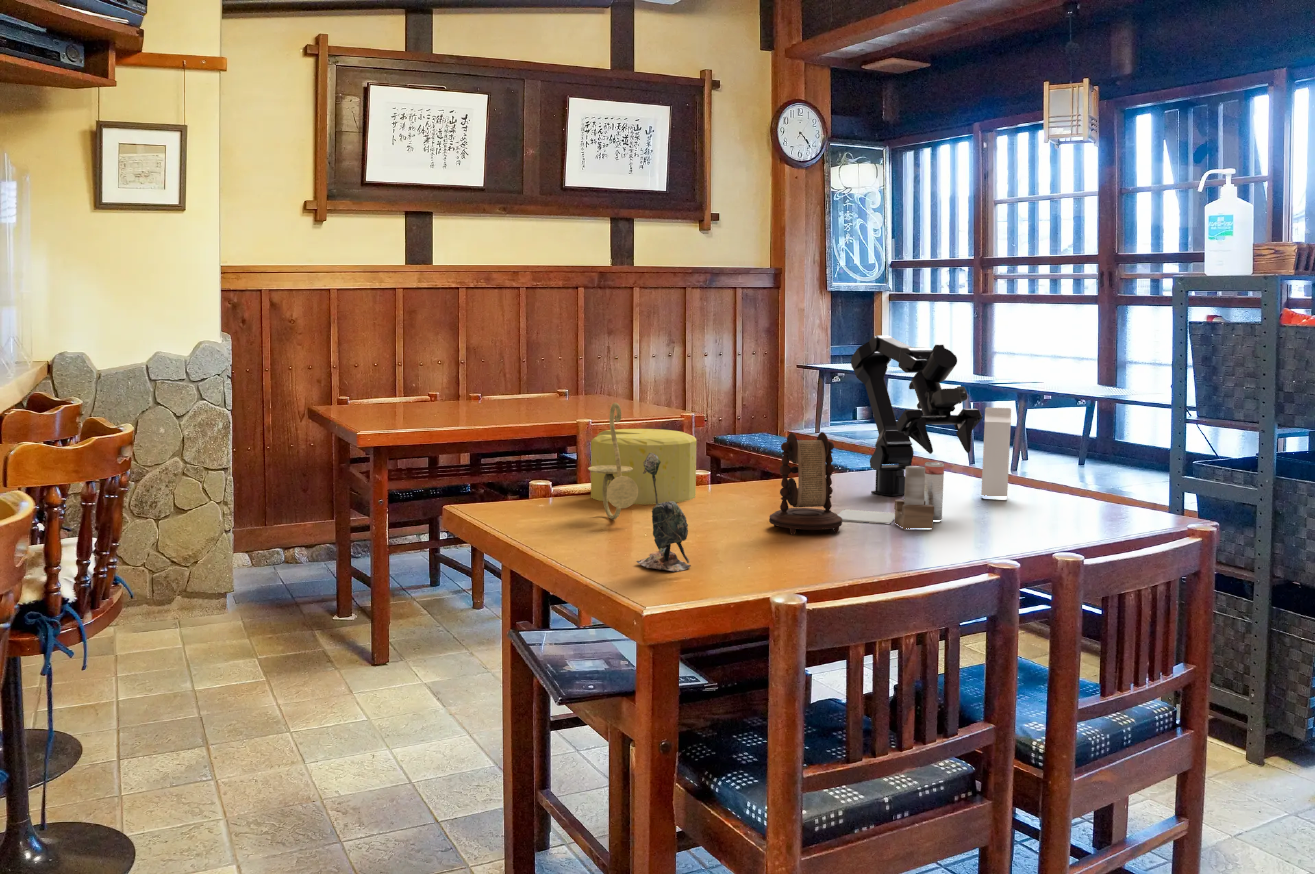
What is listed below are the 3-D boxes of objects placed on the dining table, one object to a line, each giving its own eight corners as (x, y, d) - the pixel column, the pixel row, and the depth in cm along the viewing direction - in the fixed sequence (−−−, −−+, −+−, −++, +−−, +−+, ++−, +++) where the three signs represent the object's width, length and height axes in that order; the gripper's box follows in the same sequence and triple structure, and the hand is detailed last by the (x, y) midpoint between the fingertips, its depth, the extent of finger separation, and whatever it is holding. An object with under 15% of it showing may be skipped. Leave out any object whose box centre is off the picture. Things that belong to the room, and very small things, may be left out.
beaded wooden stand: (785, 538, 216) (787, 437, 214) (758, 524, 230) (760, 429, 228) (854, 535, 220) (857, 435, 218) (823, 521, 234) (826, 428, 232)
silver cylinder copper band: (919, 519, 238) (922, 461, 236) (938, 519, 238) (940, 462, 237) (925, 522, 234) (927, 464, 232) (944, 522, 234) (946, 464, 233)
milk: (981, 495, 270) (984, 406, 268) (1007, 497, 268) (1011, 407, 266) (981, 499, 264) (984, 408, 262) (1007, 501, 263) (1011, 408, 260)
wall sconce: (644, 524, 228) (645, 404, 226) (600, 526, 225) (601, 405, 222) (624, 512, 241) (625, 399, 239) (582, 514, 238) (583, 399, 236)
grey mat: (844, 511, 247) (844, 509, 246) (898, 515, 242) (898, 513, 242) (833, 520, 235) (833, 518, 235) (890, 524, 231) (890, 522, 231)
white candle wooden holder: (893, 523, 233) (895, 464, 231) (921, 523, 233) (924, 464, 232) (904, 530, 225) (906, 470, 224) (933, 530, 225) (935, 470, 224)
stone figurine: (659, 577, 183) (660, 458, 180) (631, 563, 193) (632, 450, 190) (702, 573, 186) (704, 456, 184) (673, 559, 196) (674, 448, 194)
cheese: (565, 493, 266) (566, 432, 265) (647, 483, 284) (647, 425, 282) (635, 508, 247) (636, 442, 245) (718, 497, 264) (719, 434, 263)
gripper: (906, 373, 242) (927, 432, 233) (982, 373, 247) (1004, 431, 238) (887, 402, 251) (906, 460, 242) (960, 401, 256) (981, 458, 247)
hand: (950, 452), depth 242 cm, fingers open, 9 cm apart
